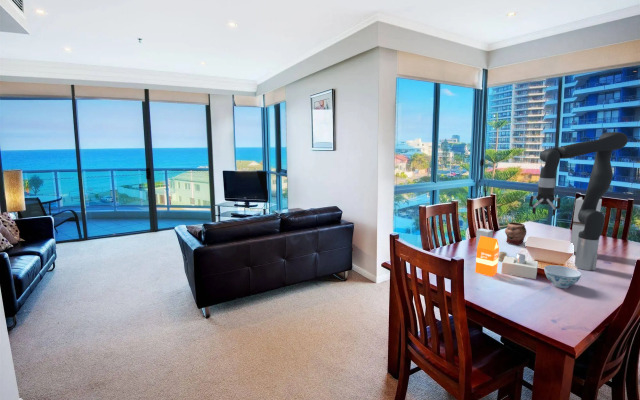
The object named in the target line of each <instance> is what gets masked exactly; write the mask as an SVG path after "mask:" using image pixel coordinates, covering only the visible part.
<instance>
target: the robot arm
mask: <svg viewBox="0 0 640 400" xmlns="http://www.w3.org/2000/svg"><path fill="white" fill-rule="evenodd" d="M628 139H629V137H627V134H625V133H623V132H618V131H610V132H609V131H607V132H604V133H603V134H601V135H600V136H599V137H598V139H595V140H589V141H588V140H587V141H582V142H575V143H570V144H566V145H563V146H558V147H551V148H545V149H544V150H541V152H540V154H539V159H540V161H541V162H543V163H545V164H544V166H543V167H541V169H540V171H539V180H538V186H537V194H536V195H530V198H529V204H528V205H529V207H530V208H532V211H531V213H532V214H533V215H536V210H537V206H538V205H546V206H547V205H548V206H549V205H550V207H551V208H552V211H551V216H552V217H554V216H555V215H556V210H559V209H560V208H561V197H555V196H554V195H555V187H556V171H557V169H558V166H559V164H560V162H561V160H562V159H563V160H564V159H566V160H567V159H571V158H576V157H579V156H583V155H588V154H593V153H595V159H594V161H593V167H592V170H591V173H590V175H589V176H590V177H589V181H588V184H587V188H586V191H585V194H584V198H583V200H584V201H583V203H582V206H581V208H580V211H579V213H578V220H579V222H580V223H582V224H584V225H585V227H584V230H583V231H580V232H579V235H578V242H577V250H576V255H575V259H574V265H575V266H576V267H575V266H574V267H575V268H578V269H581V270H585V271H596V270H597V269H596V268H597V264H598V263H597V262H598V256H599V255H598V250H599V243H600V237H601V235H602V234H603V229H604V225H605V215H604V214H603V213H602V212H601V211H600V212H599V211H596V208H597V204H598V202H599V200H600V199H602V197H604V195H605V194H606V193H607V192H608V190H609V189H610V186H611V183H612V180H613V176H614V174H613V168H612V163H611V158H612V154H613V151H617V150H621V149H623V148H624V147H625V146H626V145H627V143H628V141H629V140H628ZM535 199H536V200H537V201H536V202H535V203H534V204H533V201H534V200H535ZM554 201H555V202H557V203H556V206H555V204H554Z"/></svg>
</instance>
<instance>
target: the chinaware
mask: <svg viewBox="0 0 640 400" xmlns="http://www.w3.org/2000/svg"><path fill="white" fill-rule="evenodd" d="M543 270H544V274H545V276H546V278H547V280H548V281H550V282H551V283H552V284H551V285H552V286H554V287H556V288H561V289H569V287H572V286H573V285H575V284H576V283H578V282H579V280H580V279H581V276H582V273H581V271H578V270H577V269H575V268H572V267H569V266H568V267H567V266H563V265H556V264H555V265H545V266H544V268H543Z"/></svg>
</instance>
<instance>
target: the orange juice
mask: <svg viewBox="0 0 640 400" xmlns="http://www.w3.org/2000/svg"><path fill="white" fill-rule="evenodd" d="M499 252H500V246H499V240H498V238H494V237H493V238H489V237H484V236H481V237H480V240H479V243H478V246H477V251H476V258H475V270H474V272H475V274H481V275H484V276H488V277H492V278H493V276H495V275H496V274H497V273H498V266H499Z"/></svg>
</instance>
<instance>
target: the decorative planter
mask: <svg viewBox="0 0 640 400" xmlns="http://www.w3.org/2000/svg"><path fill="white" fill-rule="evenodd" d="M504 233H505V235H506V243H507V244H510V245H514V246H522V245H523V243H524V241H525V239H526V238H525V237H526V236H527V229H526V225H525V223H524V224H523V223H519V222H508V223H507V227H505V230H504Z"/></svg>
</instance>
